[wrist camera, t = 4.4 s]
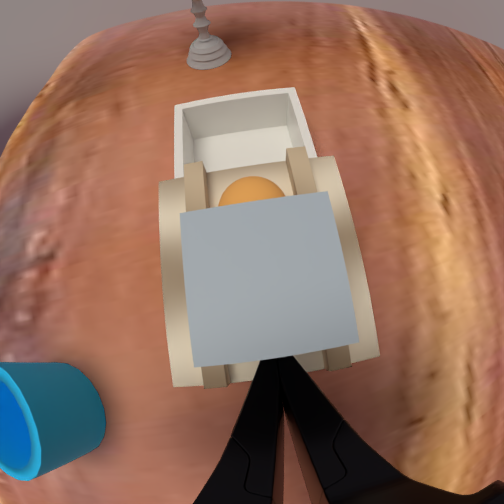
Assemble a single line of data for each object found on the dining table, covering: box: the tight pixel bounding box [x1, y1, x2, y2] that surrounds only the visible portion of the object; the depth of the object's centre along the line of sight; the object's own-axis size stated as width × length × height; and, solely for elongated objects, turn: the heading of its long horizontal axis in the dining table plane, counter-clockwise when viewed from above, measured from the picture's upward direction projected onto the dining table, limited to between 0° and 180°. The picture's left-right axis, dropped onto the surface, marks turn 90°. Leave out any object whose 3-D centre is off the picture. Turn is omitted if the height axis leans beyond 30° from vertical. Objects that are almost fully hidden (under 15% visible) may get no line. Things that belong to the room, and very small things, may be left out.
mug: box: [0, 362, 106, 481], centre depth 15 cm, size 12×8×8 cm
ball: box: [218, 176, 285, 207], centre depth 14 cm, size 3×3×3 cm
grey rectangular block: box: [180, 191, 359, 367], centre depth 10 cm, size 4×4×8 cm
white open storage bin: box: [174, 87, 317, 179], centre depth 21 cm, size 8×9×4 cm
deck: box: [159, 146, 380, 389], centre depth 17 cm, size 11×10×8 cm
